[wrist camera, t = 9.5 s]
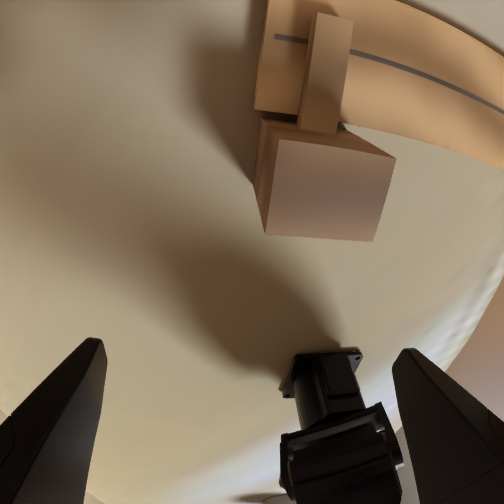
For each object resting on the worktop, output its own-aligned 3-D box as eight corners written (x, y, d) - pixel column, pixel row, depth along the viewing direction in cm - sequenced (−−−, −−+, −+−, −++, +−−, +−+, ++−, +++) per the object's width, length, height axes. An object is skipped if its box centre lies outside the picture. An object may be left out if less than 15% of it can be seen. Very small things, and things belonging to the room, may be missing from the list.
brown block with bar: (334, 193, 19) (372, 242, 14) (252, 185, 18) (265, 234, 13) (362, 34, 14) (419, 25, 9) (274, 14, 13) (299, -12, 8)
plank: (504, 167, 18) (514, 173, 17) (252, 107, 16) (255, 109, 15) (523, 76, 14) (534, 79, 13) (270, -26, 12) (273, -33, 11)
